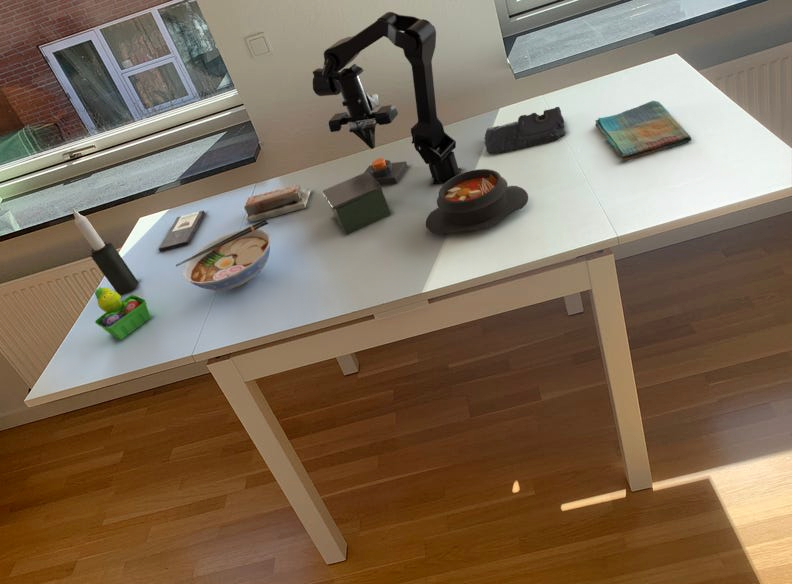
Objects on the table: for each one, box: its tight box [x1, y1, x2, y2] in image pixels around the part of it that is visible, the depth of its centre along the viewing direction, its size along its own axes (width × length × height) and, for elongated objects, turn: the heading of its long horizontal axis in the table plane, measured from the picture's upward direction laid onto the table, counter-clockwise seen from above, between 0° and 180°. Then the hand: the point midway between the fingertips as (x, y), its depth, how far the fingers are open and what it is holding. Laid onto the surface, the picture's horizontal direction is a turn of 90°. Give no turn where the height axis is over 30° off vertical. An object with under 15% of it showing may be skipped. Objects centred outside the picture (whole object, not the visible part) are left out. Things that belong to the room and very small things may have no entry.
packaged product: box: [243, 184, 312, 223], centre depth 200 cm, size 18×5×10 cm
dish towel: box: [594, 100, 692, 162], centre depth 174 cm, size 17×23×2 cm
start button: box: [371, 157, 386, 170], centre depth 196 cm, size 4×4×2 cm
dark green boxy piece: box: [328, 188, 392, 235], centre depth 181 cm, size 13×12×7 cm
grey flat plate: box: [321, 171, 382, 210], centre depth 179 cm, size 13×12×1 cm
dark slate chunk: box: [484, 106, 566, 155], centre depth 191 cm, size 15×22×5 cm
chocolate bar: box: [158, 210, 206, 252], centre depth 208 cm, size 9×1×18 cm
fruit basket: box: [94, 286, 152, 341], centre depth 170 cm, size 11×9×11 cm
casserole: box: [425, 168, 529, 235], centre depth 164 cm, size 25×19×8 cm
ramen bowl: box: [176, 218, 271, 292], centre depth 174 cm, size 25×23×8 cm
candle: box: [71, 207, 139, 296], centre depth 182 cm, size 5×5×25 cm
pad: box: [363, 159, 409, 186], centre depth 197 cm, size 12×9×4 cm
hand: (373, 148), depth 192 cm, fingers closed
